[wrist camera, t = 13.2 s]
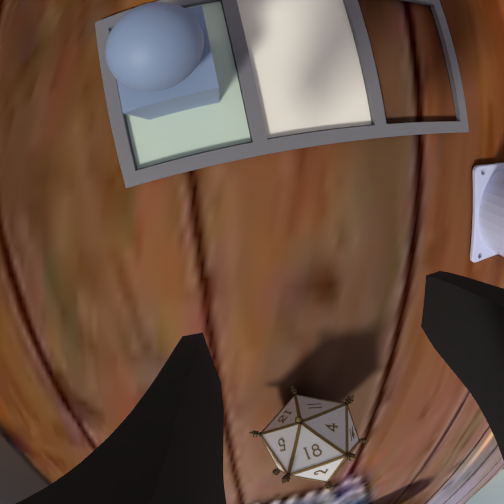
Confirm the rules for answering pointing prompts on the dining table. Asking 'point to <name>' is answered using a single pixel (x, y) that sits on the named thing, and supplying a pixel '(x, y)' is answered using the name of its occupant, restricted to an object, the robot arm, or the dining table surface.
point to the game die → (311, 438)
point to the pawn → (162, 60)
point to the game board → (271, 87)
